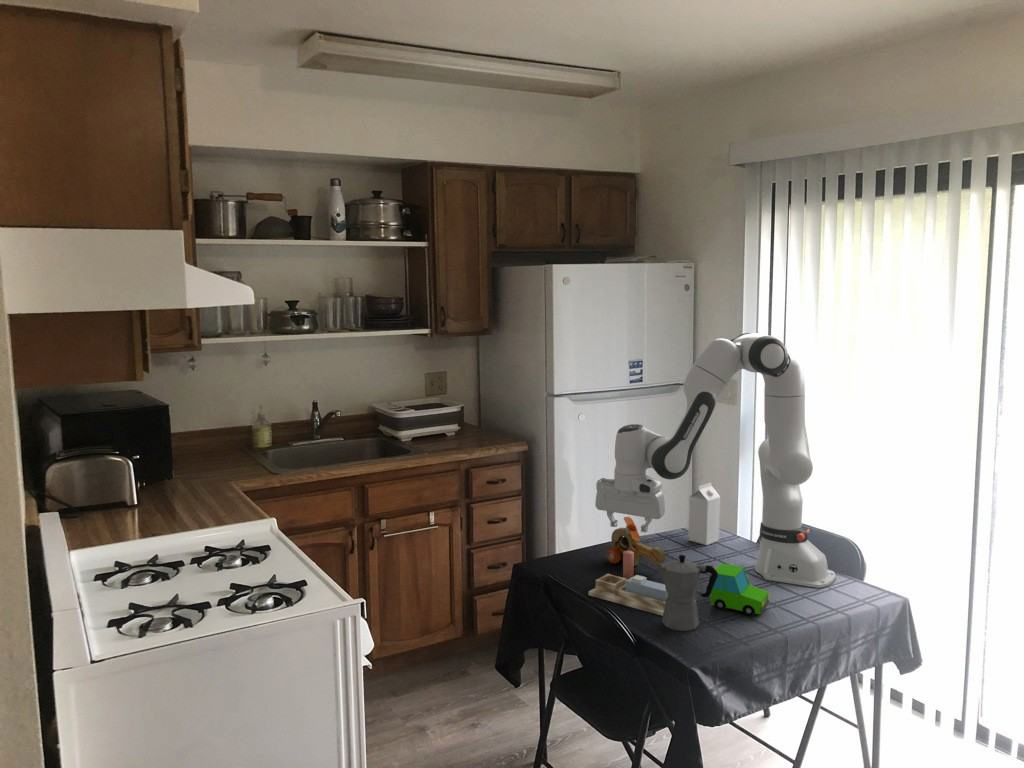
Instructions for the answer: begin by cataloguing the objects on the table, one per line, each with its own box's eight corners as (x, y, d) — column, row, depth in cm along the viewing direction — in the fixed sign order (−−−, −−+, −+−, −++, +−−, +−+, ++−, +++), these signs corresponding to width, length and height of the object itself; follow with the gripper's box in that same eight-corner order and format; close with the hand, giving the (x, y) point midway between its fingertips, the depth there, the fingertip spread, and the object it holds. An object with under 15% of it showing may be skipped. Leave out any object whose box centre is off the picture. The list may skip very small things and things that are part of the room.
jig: (685, 601, 227) (685, 589, 226) (663, 616, 217) (663, 603, 217) (611, 582, 241) (611, 570, 240) (588, 595, 231) (588, 582, 231)
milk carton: (688, 540, 277) (689, 484, 274) (700, 536, 282) (702, 480, 279) (706, 545, 272) (708, 488, 269) (719, 541, 277) (720, 484, 274)
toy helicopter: (622, 554, 264) (623, 512, 262) (672, 573, 247) (674, 528, 245) (603, 560, 259) (604, 517, 257) (653, 580, 242) (654, 533, 240)
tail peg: (635, 578, 243) (635, 552, 242) (630, 581, 241) (630, 555, 240) (626, 576, 245) (626, 550, 244) (620, 579, 243) (621, 552, 242)
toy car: (760, 620, 214) (761, 583, 213) (709, 610, 221) (710, 573, 220) (770, 607, 223) (772, 570, 222) (721, 597, 230) (722, 561, 229)
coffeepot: (653, 629, 209) (655, 560, 207) (654, 614, 218) (655, 547, 216) (717, 634, 207) (719, 563, 204) (715, 618, 216) (717, 550, 213)
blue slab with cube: (672, 601, 224) (672, 583, 224) (665, 605, 221) (665, 587, 221) (632, 590, 232) (633, 573, 231) (625, 594, 229) (625, 577, 228)
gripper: (591, 479, 242) (591, 526, 244) (659, 489, 231) (658, 537, 233) (601, 474, 247) (600, 520, 249) (667, 483, 236) (666, 531, 238)
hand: (629, 529), depth 241 cm, fingers open, 8 cm apart
